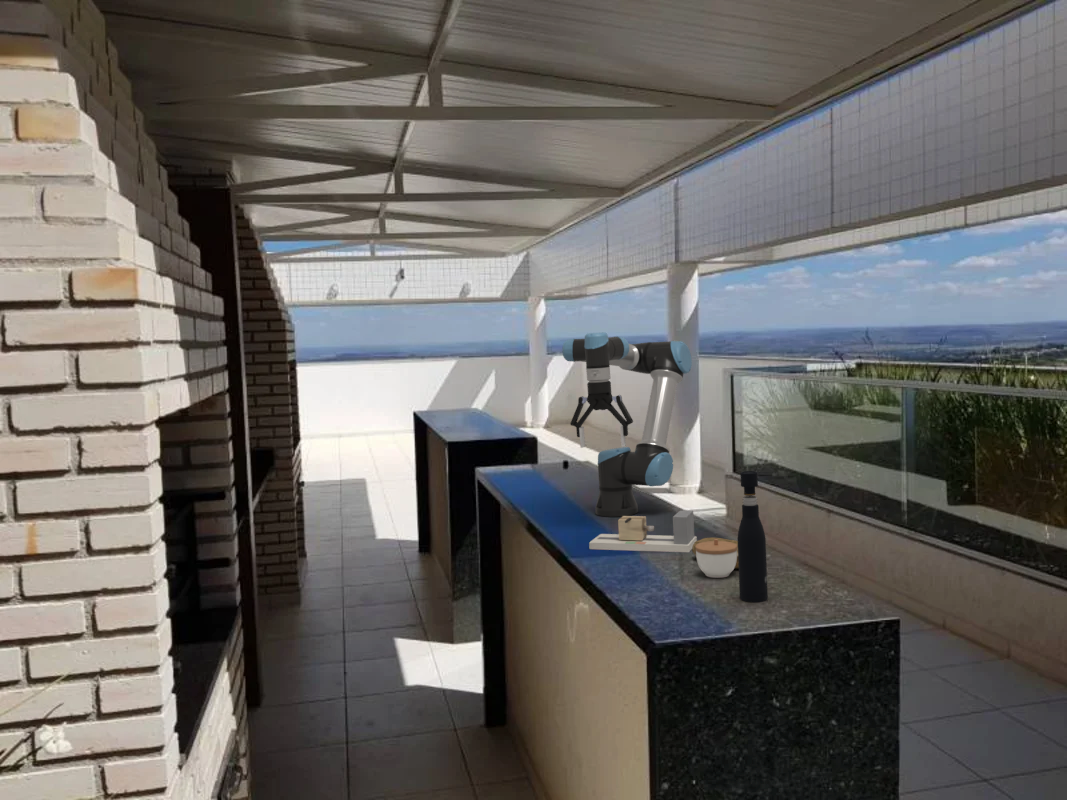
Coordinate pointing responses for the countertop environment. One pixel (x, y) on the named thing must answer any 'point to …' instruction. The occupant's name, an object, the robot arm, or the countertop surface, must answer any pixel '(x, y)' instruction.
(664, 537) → the bench
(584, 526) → the countertop surface
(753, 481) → the wine bottle
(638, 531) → the gauge carriage
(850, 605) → the countertop surface
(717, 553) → the lidded jar
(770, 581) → the countertop surface
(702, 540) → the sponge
